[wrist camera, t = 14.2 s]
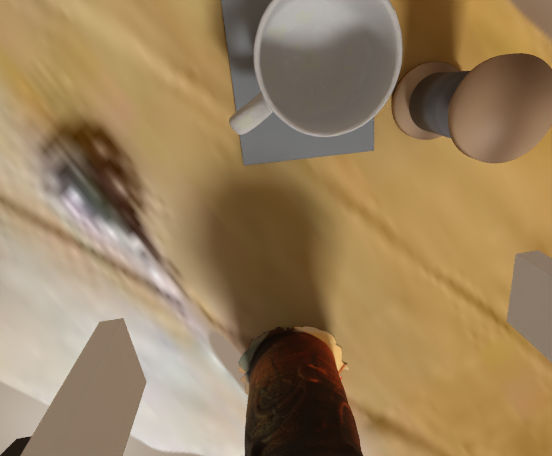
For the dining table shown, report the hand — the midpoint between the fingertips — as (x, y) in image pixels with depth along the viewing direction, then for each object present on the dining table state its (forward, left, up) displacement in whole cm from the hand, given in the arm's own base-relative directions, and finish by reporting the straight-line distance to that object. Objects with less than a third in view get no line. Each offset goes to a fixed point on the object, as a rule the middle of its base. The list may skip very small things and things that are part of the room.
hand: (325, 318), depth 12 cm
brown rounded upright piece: (+15, +4, -26) cm, 31 cm away
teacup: (+3, +8, -26) cm, 27 cm away
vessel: (-1, -27, -27) cm, 38 cm away
